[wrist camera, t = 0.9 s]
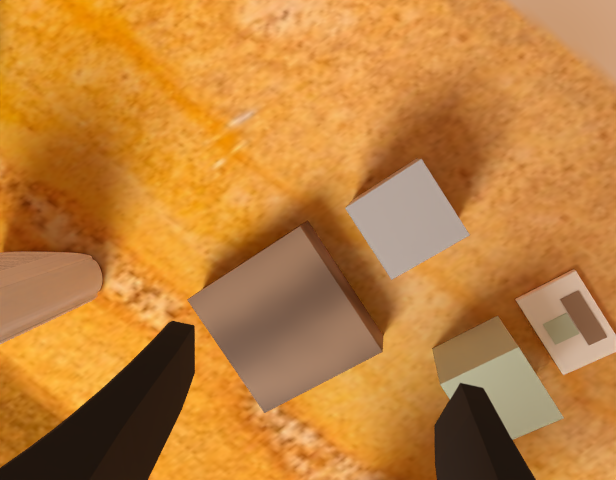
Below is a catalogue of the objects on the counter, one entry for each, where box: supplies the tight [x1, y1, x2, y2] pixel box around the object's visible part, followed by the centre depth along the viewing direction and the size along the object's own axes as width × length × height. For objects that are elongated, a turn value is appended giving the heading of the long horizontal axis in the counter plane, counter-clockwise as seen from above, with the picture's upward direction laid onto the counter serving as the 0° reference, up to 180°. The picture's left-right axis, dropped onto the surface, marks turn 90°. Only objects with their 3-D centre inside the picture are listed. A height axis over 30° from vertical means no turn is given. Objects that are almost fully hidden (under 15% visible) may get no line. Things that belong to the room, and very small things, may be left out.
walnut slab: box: [188, 221, 383, 413], centre depth 30 cm, size 10×10×3 cm
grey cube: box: [345, 159, 469, 280], centre depth 26 cm, size 5×5×5 cm
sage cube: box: [433, 316, 564, 440], centre depth 27 cm, size 5×5×5 cm
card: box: [515, 269, 616, 375], centre depth 28 cm, size 6×4×1 cm, turn 35°
